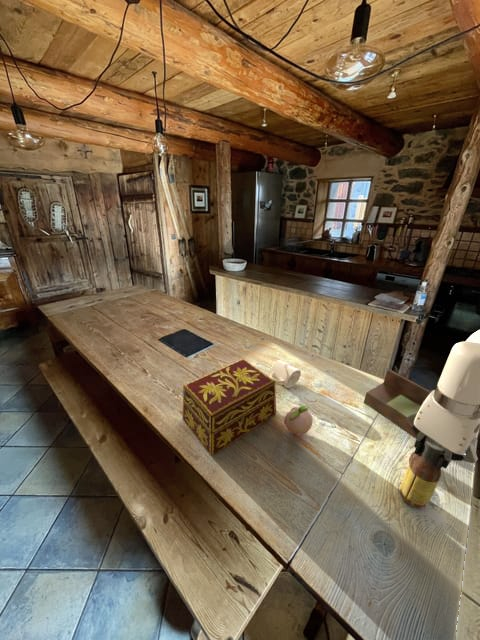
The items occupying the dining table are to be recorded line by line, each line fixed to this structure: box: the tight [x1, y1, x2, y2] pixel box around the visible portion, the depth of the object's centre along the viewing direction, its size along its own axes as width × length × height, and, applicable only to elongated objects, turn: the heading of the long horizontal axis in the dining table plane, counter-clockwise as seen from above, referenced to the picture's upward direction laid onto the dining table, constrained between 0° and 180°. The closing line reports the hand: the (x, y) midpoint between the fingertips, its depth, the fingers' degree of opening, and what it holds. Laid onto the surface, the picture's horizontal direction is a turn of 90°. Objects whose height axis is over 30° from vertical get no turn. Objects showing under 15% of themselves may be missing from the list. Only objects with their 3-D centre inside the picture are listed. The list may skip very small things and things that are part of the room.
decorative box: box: [181, 358, 277, 457], centre depth 90 cm, size 28×19×15 cm
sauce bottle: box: [399, 436, 445, 509], centre depth 64 cm, size 7×6×20 cm
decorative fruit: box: [283, 405, 313, 435], centre depth 86 cm, size 9×8×10 cm
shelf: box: [363, 368, 432, 439], centre depth 92 cm, size 24×12×11 cm, turn 32°
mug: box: [269, 359, 302, 389], centre depth 109 cm, size 12×9×8 cm
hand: (429, 458), depth 63 cm, fingers closed on sauce bottle, 4 cm apart
